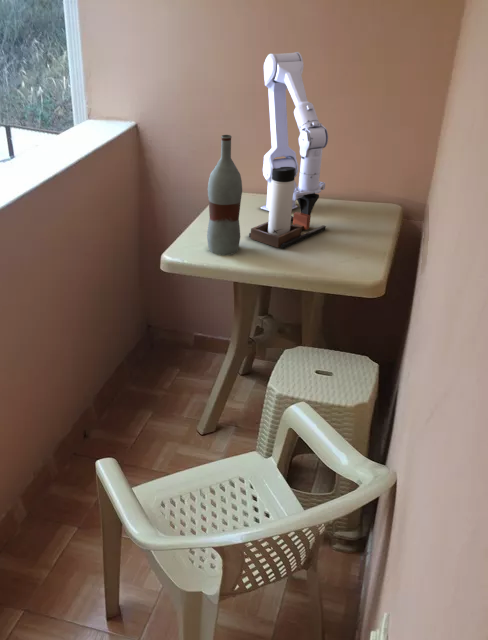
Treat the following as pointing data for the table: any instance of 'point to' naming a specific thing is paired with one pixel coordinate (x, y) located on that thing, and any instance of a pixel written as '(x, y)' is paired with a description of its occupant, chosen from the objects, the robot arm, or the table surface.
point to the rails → (301, 237)
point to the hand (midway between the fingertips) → (305, 218)
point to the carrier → (263, 236)
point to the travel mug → (281, 200)
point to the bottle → (224, 203)
